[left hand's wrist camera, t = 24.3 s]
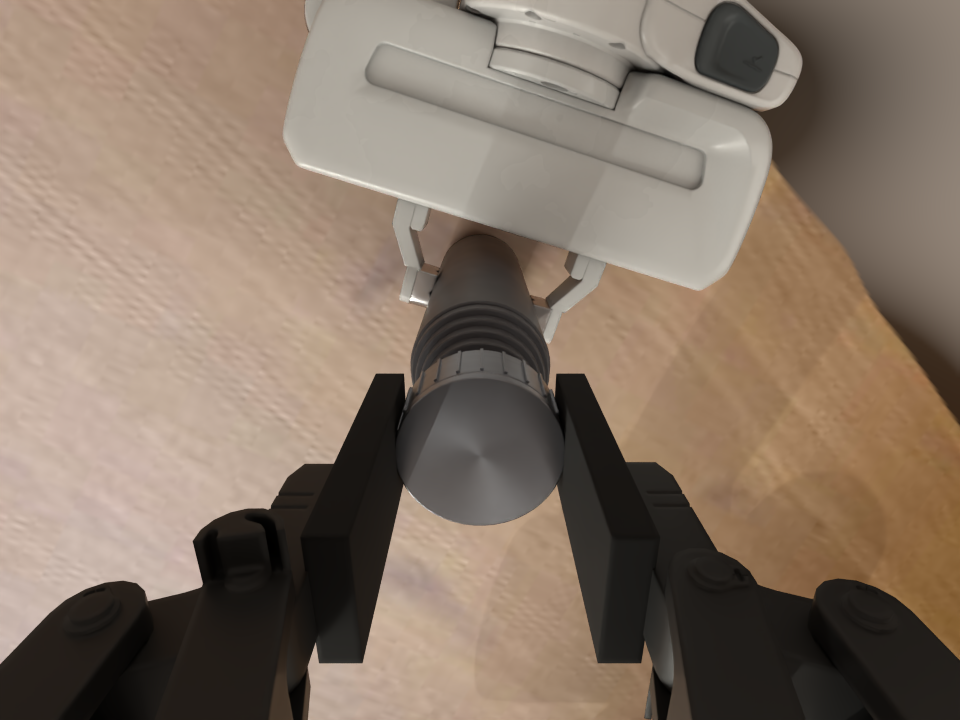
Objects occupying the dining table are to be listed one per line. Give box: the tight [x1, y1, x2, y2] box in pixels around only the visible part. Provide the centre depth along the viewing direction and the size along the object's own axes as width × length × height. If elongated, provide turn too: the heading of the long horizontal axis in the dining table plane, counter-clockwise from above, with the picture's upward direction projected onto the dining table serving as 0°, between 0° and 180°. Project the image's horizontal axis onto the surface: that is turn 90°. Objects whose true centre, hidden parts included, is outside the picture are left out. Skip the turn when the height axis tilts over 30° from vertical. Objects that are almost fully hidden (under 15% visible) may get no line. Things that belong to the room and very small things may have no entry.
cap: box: [395, 348, 565, 526], centre depth 14 cm, size 4×4×2 cm
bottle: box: [411, 235, 550, 386], centre depth 23 cm, size 5×5×20 cm
